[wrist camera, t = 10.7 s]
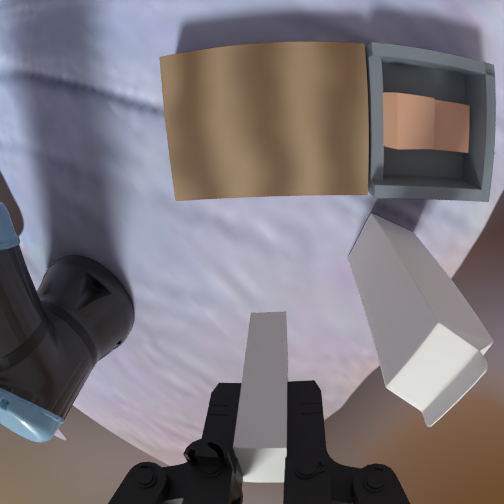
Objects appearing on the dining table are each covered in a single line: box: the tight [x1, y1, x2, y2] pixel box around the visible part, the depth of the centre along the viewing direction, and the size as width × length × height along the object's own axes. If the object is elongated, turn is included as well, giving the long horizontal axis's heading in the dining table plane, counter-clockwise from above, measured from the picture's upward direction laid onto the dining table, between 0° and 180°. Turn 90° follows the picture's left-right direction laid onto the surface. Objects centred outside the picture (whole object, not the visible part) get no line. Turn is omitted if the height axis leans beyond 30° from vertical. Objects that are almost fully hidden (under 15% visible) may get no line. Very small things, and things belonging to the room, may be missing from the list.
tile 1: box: [434, 100, 470, 153], centre depth 26 cm, size 5×5×2 cm
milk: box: [348, 213, 493, 427], centre depth 25 cm, size 6×6×22 cm
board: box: [160, 42, 369, 201], centre depth 28 cm, size 18×14×4 cm
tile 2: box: [383, 92, 435, 149], centre depth 25 cm, size 5×5×2 cm
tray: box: [365, 42, 496, 202], centre depth 26 cm, size 13×14×5 cm
